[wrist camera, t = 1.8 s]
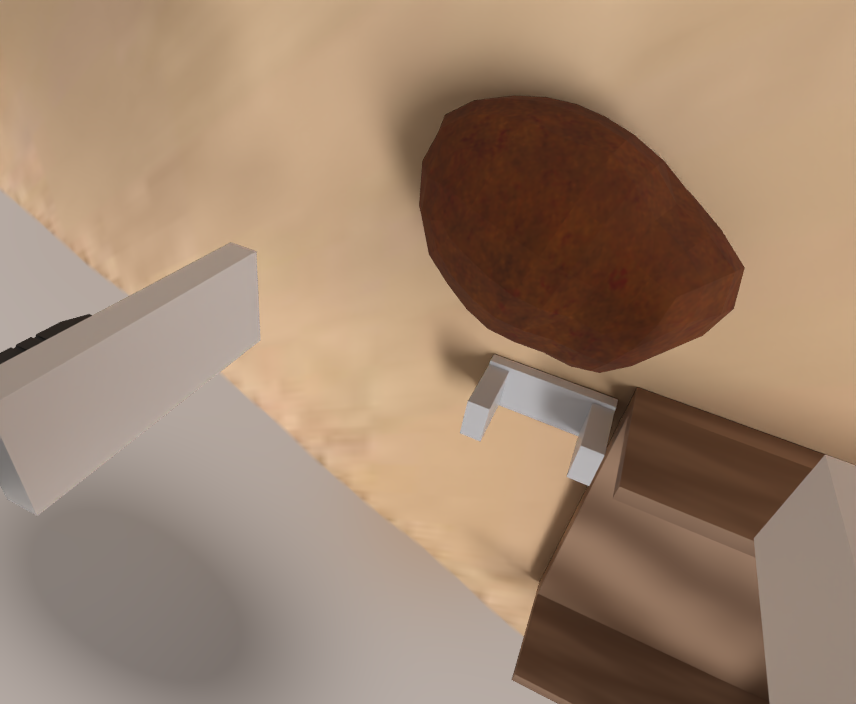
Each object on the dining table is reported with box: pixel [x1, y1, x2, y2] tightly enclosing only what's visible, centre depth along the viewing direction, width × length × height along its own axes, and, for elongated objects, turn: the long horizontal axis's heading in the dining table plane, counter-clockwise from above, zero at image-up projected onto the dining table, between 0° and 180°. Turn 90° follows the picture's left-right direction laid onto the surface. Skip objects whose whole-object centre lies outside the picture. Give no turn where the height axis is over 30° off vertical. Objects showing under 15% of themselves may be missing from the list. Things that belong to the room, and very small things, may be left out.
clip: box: [460, 354, 618, 486], centre depth 25 cm, size 2×6×4 cm, turn 82°
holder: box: [512, 387, 824, 704], centre depth 25 cm, size 16×15×6 cm
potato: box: [419, 96, 744, 373], centre depth 18 cm, size 8×12×8 cm, turn 64°
